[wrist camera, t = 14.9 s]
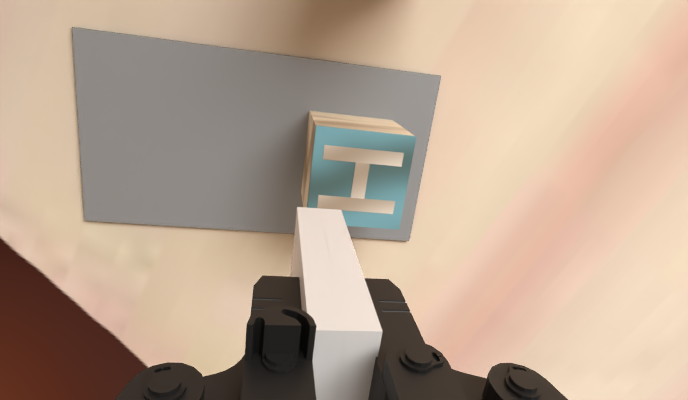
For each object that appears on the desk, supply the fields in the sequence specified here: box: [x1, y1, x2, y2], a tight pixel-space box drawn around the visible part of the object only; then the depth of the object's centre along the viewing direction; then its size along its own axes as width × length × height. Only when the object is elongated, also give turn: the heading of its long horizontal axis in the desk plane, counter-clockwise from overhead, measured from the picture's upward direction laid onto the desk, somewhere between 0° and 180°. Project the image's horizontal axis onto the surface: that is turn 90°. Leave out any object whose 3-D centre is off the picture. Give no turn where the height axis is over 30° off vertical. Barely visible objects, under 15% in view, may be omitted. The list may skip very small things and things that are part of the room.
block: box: [301, 111, 416, 230], centre depth 34 cm, size 7×7×7 cm
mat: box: [72, 27, 441, 241], centre depth 36 cm, size 15×28×1 cm, turn 83°
